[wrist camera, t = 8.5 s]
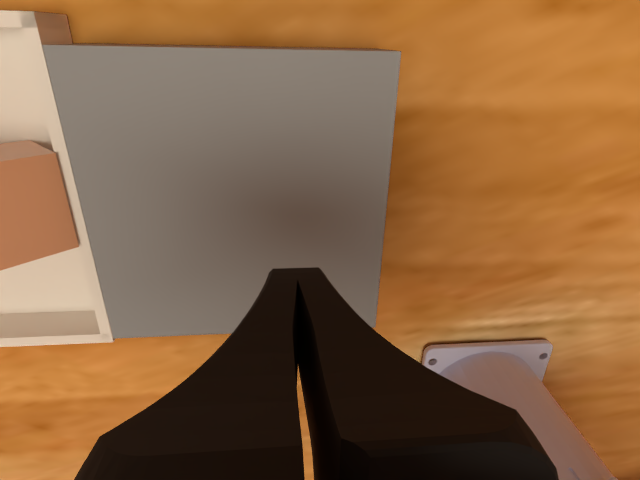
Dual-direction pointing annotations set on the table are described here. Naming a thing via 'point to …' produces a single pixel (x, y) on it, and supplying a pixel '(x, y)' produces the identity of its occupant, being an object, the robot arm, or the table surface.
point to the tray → (46, 130)
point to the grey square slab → (226, 173)
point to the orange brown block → (32, 205)
